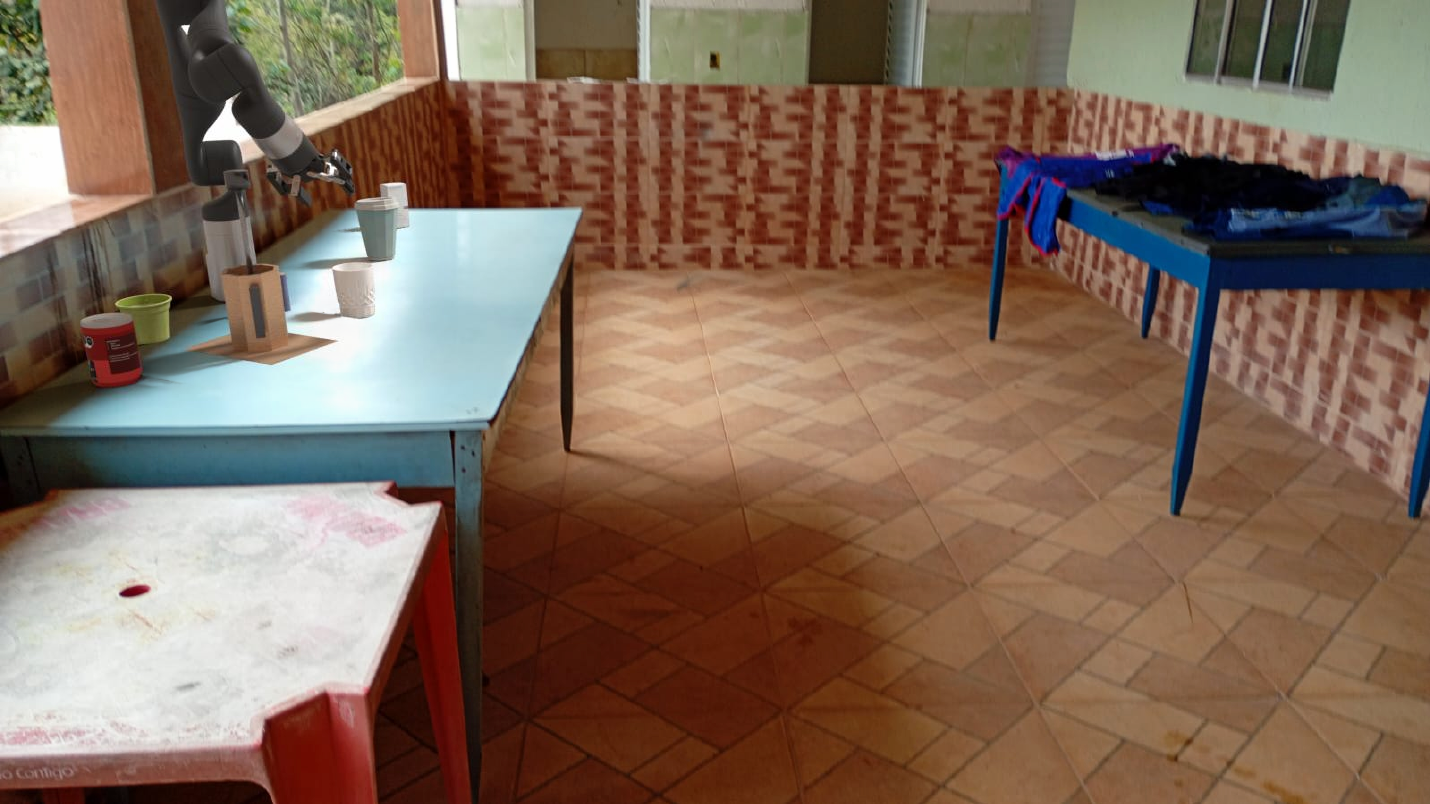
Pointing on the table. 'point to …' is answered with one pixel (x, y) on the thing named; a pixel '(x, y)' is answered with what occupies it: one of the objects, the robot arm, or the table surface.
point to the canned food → (111, 349)
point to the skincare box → (401, 197)
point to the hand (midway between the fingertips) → (330, 197)
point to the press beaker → (255, 308)
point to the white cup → (355, 289)
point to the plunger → (240, 206)
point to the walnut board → (294, 348)
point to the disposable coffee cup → (378, 226)
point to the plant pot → (148, 316)
